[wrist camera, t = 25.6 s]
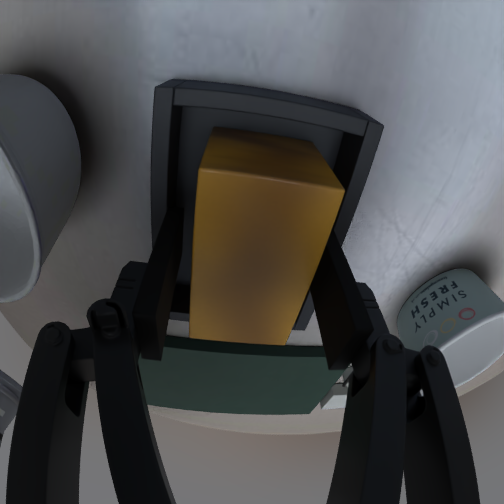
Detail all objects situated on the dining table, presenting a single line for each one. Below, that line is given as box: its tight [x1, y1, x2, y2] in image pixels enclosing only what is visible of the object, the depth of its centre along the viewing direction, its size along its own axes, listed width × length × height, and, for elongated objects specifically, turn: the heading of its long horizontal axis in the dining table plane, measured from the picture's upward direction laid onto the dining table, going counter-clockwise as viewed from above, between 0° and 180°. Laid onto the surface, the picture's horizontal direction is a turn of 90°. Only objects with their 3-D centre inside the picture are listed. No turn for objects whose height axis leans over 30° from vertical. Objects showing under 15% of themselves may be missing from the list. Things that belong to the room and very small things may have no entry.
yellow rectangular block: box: [189, 127, 345, 345], centre depth 14 cm, size 5×9×6 cm, turn 170°
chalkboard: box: [138, 336, 351, 415], centre depth 29 cm, size 22×14×1 cm, turn 81°
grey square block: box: [320, 384, 348, 409], centre depth 32 cm, size 4×4×2 cm
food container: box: [397, 269, 504, 396], centre depth 21 cm, size 12×12×6 cm
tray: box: [151, 79, 384, 330], centre depth 16 cm, size 10×14×3 cm
